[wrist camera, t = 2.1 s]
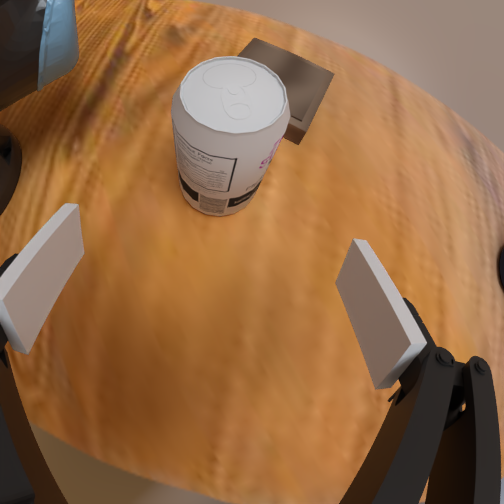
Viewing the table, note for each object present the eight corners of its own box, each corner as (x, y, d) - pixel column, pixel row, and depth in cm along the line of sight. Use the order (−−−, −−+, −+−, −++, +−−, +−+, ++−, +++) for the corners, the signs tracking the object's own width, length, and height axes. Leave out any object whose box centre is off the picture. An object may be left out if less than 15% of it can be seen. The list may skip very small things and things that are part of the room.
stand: (209, 103, 34) (210, 86, 31) (250, 52, 37) (254, 36, 34) (298, 145, 35) (307, 130, 31) (326, 86, 38) (335, 72, 34)
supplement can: (175, 155, 32) (165, 57, 17) (247, 145, 34) (278, 50, 19) (186, 224, 31) (176, 151, 16) (264, 210, 32) (312, 135, 18)
